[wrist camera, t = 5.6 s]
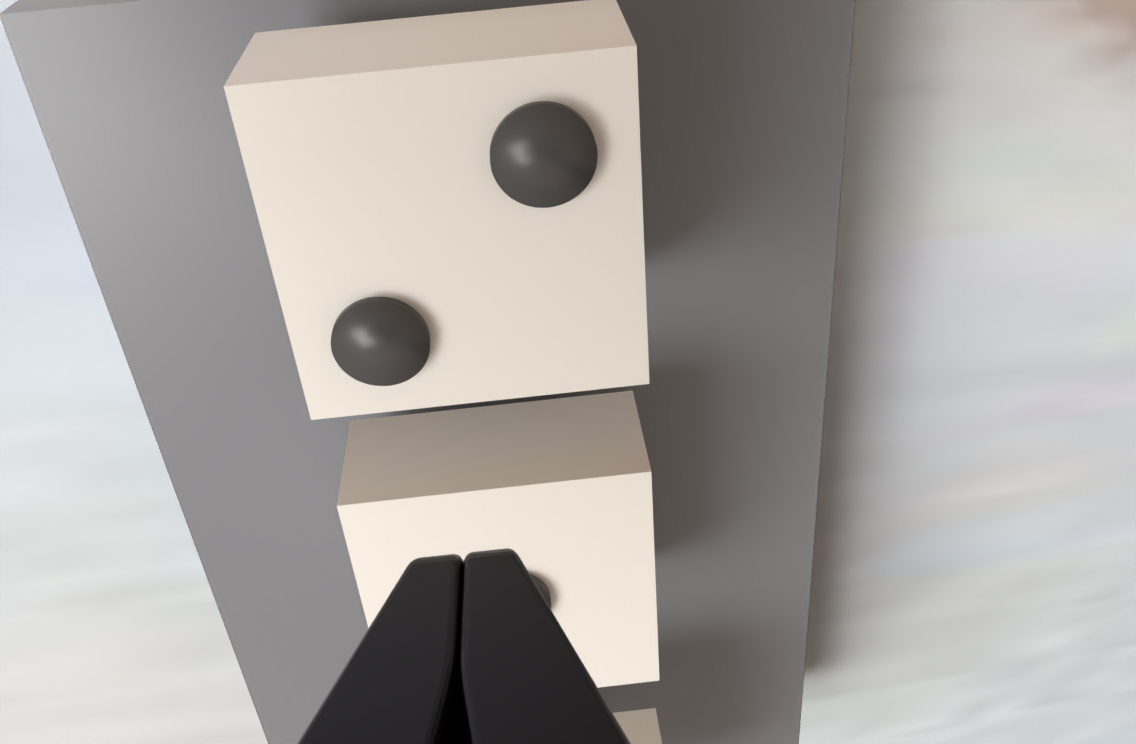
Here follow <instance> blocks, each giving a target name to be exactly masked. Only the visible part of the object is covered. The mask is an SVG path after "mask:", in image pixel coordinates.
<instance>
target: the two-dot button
mask: <svg viewBox="0 0 1136 744" xmlns="http://www.w3.org/2000/svg"><path fill="white" fill-rule="evenodd" d="M224 90H225V94H226V98H227V102H228V105H229V109H230V113H231V117H232V121H233V124H234V128H235V132H236V136H237V140H238V143H239V147H240V151H241V155H242V159H243V163H244V166H245V170H246V174H247V178H248V182H249V185H250V189H251V193H252V197H253V201H254V204H255V208H256V212H257V216H258V220H259V224H260V227H261V231H262V235H263V239H264V243H265V246H266V250H267V254H268V258H269V262H270V266H271V269H272V273H273V277H274V281H275V285H276V288H277V292H278V296H279V300H280V304H281V307H282V311H283V315H284V319H285V323H286V327H287V330H288V334H289V338H290V342H291V346H292V349H293V353H294V357H295V361H296V365H297V369H298V372H299V376H300V380H301V384H302V388H303V391H304V395H305V399H306V403H307V407H308V410H309V414H310V418H311V420H317V419H326V418H335V417H345V416H354V415H363V414H373V413H382V412H391V411H401V410H410V409H420V408H429V407H438V406H448V405H457V404H466V403H476V402H485V401H494V400H504V399H513V398H522V397H532V396H541V395H550V394H560V393H569V392H579V391H588V390H597V389H607V388H616V387H625V386H635V385H644V384H649V359H648V333H647V306H646V280H645V253H644V227H643V200H642V174H641V148H640V121H639V95H638V68H637V45H636V43H635V41H634V39H633V36H632V34H631V32H630V30H629V28H628V25H627V23H626V21H625V19H624V17H623V14H622V12H621V10H620V8H619V6H618V3H617V1H616V0H584V1H574V2H564V3H553V4H543V5H533V6H523V7H512V8H502V9H492V10H482V11H471V12H461V13H451V14H441V15H430V16H420V17H410V18H400V19H390V20H379V21H369V22H359V23H349V24H338V25H328V26H318V27H308V28H297V29H287V30H277V31H267V32H256V33H255V34H254V35H253V37H252V39H251V41H250V42H249V44H248V46H247V47H246V49H245V51H244V53H243V54H242V56H241V58H240V59H239V61H238V63H237V64H236V66H235V68H234V70H233V71H232V73H231V75H230V76H229V78H228V80H227V81H226V83H225V85H224Z"/></svg>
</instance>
